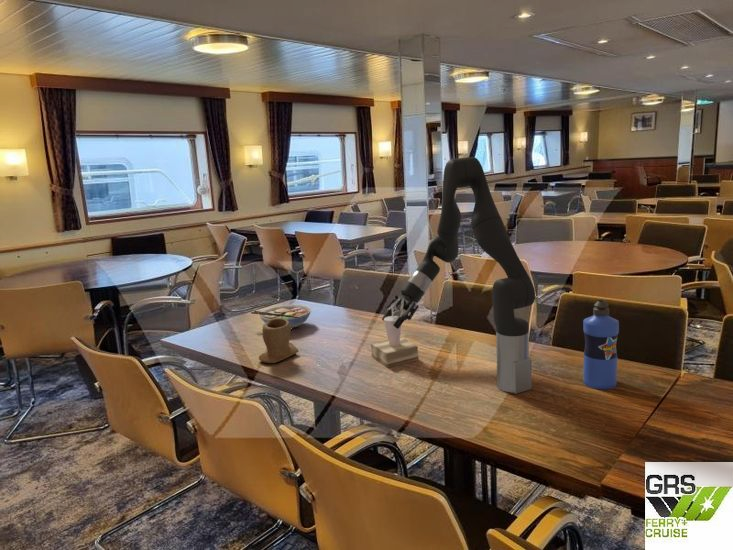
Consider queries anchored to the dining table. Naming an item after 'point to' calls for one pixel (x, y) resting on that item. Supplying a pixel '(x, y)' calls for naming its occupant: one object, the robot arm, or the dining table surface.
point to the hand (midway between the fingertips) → (389, 324)
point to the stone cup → (277, 341)
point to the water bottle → (600, 348)
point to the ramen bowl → (286, 313)
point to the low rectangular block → (394, 352)
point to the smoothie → (392, 330)
